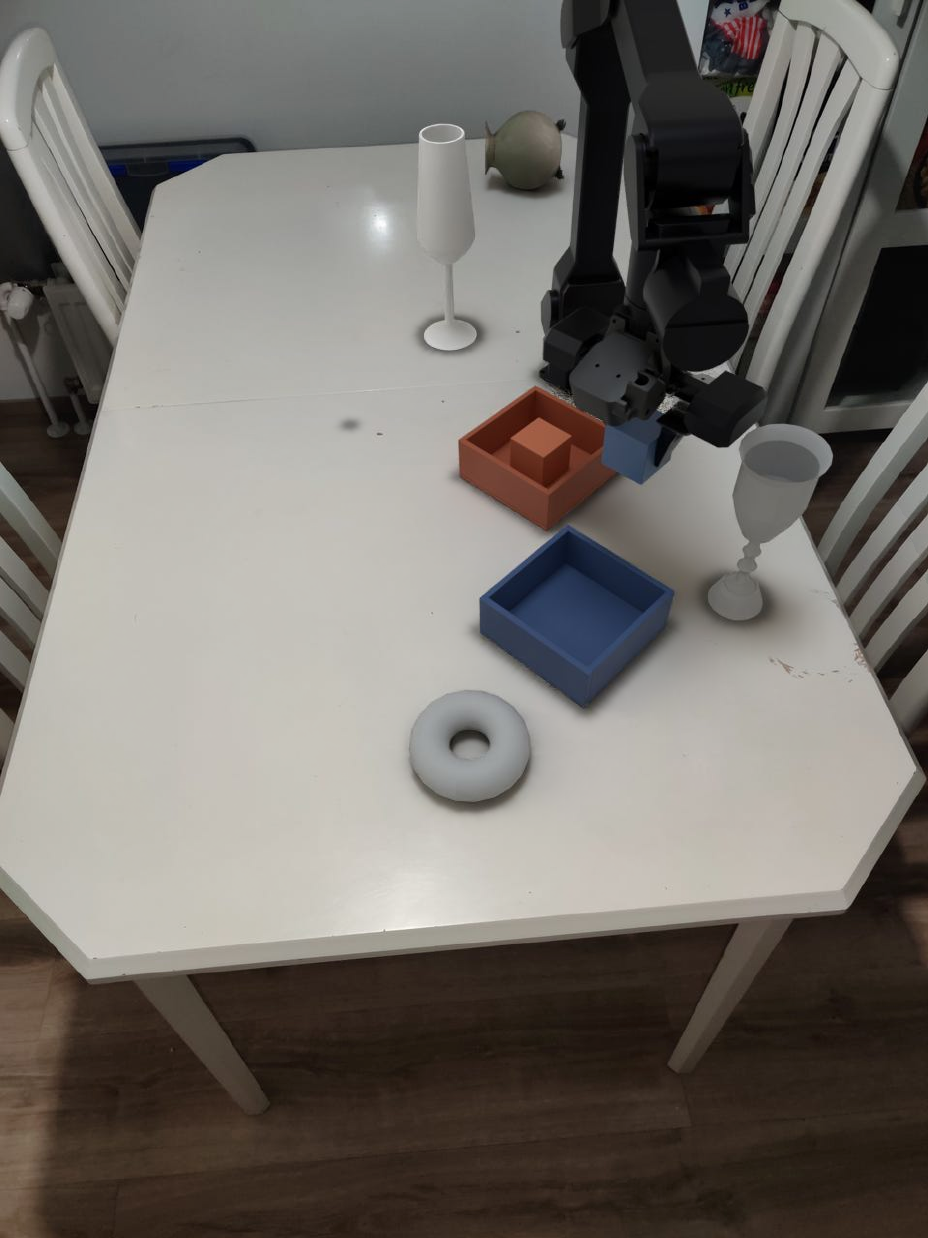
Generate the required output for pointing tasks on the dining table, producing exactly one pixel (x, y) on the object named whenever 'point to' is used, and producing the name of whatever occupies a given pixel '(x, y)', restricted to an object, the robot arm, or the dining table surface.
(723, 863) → the dining table surface
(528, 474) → the terracotta block
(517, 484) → the terracotta bin
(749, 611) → the chalice
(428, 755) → the donut
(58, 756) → the dining table surface
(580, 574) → the blue bin
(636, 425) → the blue block
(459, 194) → the champagne flute
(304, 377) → the dining table surface
